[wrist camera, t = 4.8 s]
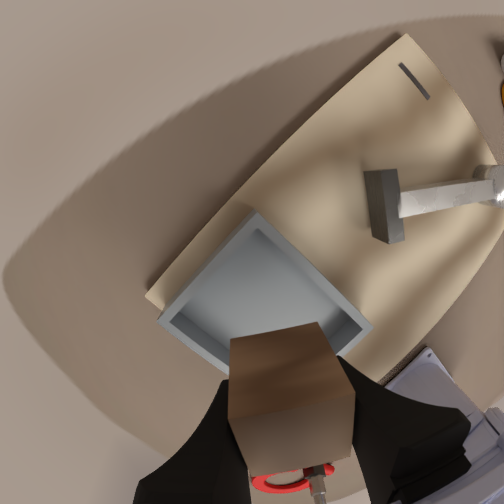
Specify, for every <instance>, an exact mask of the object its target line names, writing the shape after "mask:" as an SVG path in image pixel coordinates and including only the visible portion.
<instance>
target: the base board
mask: <svg viewBox="0 0 504 504" xmlns="http://www.w3.org/2000/svg"><path fill="white" fill-rule="evenodd" d="M480 164H487V165H497V163H496V161H495V159H494V157H493V155H492V153H491V151H490V149H489V147H488V145H487V143H486V141H485V139H484V137H483V136H482V134H481V132H480V130H479V129H478V127H477V125H476V123H475V122H474V120H473V118H472V117H471V115H470V114H469V112H468V110H467V109H466V107H465V106H464V104H463V103H462V101H461V100H460V98H459V97H458V95H457V94H456V92H455V91H454V90H453V88H452V87H451V85H450V84H449V83H448V81H447V80H446V79H445V77H444V76H443V75H442V73H441V72H440V71H439V70H438V68H437V67H436V66H435V65H434V63H433V62H432V61H431V60H430V59H429V57H428V56H427V55H426V54H425V53H424V52H423V50H422V49H421V48H420V47H419V46H418V45H417V44H416V43H415V42H414V40H413V39H412V38H411V37H410V36H409V35H408V34H407V33H406V34H404V35H403V36H402V37H401V38H399V39H398V40H397V41H396V42H394V43H393V44H392V45H391V46H390V47H388V48H387V49H386V50H385V51H384V52H382V53H381V54H380V55H379V56H378V57H376V58H375V59H374V60H373V61H372V62H371V63H369V64H368V65H367V66H366V67H365V68H364V69H363V70H361V71H360V72H359V73H358V74H357V75H356V76H355V77H354V78H352V79H351V80H350V81H349V82H348V83H347V84H346V85H345V86H343V87H342V88H341V89H340V90H339V91H338V92H337V93H336V94H335V95H334V96H333V97H331V98H330V99H329V100H328V101H327V102H326V103H325V104H324V105H323V106H322V107H321V108H320V109H319V110H317V111H316V112H315V113H314V114H313V115H312V116H311V117H310V118H309V119H308V120H307V121H306V122H305V123H304V124H303V125H302V126H301V127H300V128H299V129H298V130H297V131H296V132H295V133H294V134H292V135H291V136H290V137H289V138H288V139H287V140H286V141H285V142H284V143H283V144H282V145H281V146H280V147H279V148H278V149H277V150H276V151H275V152H274V153H273V154H272V155H271V156H270V157H269V158H268V159H267V160H266V161H265V162H264V163H263V164H262V166H261V167H260V168H259V169H258V170H257V171H256V172H255V173H254V174H253V175H252V176H251V177H250V178H249V179H248V180H247V181H246V182H245V183H244V184H243V185H242V186H241V187H240V188H239V189H238V190H237V192H236V193H235V194H234V195H233V196H232V197H231V198H230V199H229V200H228V201H227V202H226V203H225V204H224V205H223V207H222V208H221V209H220V210H219V211H218V212H217V213H216V214H215V215H214V216H213V217H212V219H211V220H210V221H209V222H208V223H207V224H206V225H205V226H204V227H203V228H202V230H201V231H200V232H199V233H198V234H197V235H196V236H195V237H194V239H193V240H192V241H191V242H190V243H189V244H188V245H187V246H186V248H185V249H184V250H183V251H182V252H181V253H180V255H179V256H178V257H177V258H176V259H175V260H174V261H173V263H172V264H171V265H170V266H169V267H168V268H167V270H166V271H165V272H164V273H163V274H162V275H161V277H160V278H159V279H158V280H157V281H156V283H155V284H154V285H153V286H152V287H151V289H150V290H149V291H148V292H147V294H146V295H145V297H146V298H147V299H149V300H150V301H151V302H152V303H153V304H154V305H156V306H157V307H158V308H159V309H160V310H163V308H164V306H165V305H166V304H167V302H168V301H169V300H170V299H171V298H172V297H173V296H174V295H175V293H176V292H177V291H178V290H179V289H180V288H181V287H182V286H183V285H184V283H185V282H186V281H187V280H188V279H189V278H190V277H191V276H192V275H193V274H194V272H195V271H196V270H197V269H198V268H199V267H200V266H201V265H202V264H203V263H204V261H205V260H206V259H207V258H208V257H209V256H210V255H211V254H212V253H213V252H214V251H215V249H216V248H217V247H218V246H219V245H220V244H221V243H222V242H223V241H224V240H225V239H226V238H227V237H228V235H229V234H230V233H231V232H232V231H233V230H234V229H235V228H236V227H237V226H238V225H239V224H240V223H241V222H242V221H243V220H244V218H245V217H246V216H247V215H248V214H249V213H250V212H251V211H252V210H253V209H254V208H255V209H256V210H257V211H258V212H259V213H260V214H261V215H262V216H263V217H264V218H265V219H266V220H267V221H268V222H269V223H271V224H272V225H273V226H274V227H275V228H276V229H277V230H278V231H279V232H280V233H281V234H282V235H283V236H284V237H285V238H286V239H287V240H288V241H289V242H290V243H291V244H292V245H293V246H295V247H296V248H297V249H298V250H299V251H300V252H301V253H302V254H303V255H304V256H305V257H306V258H307V259H308V260H309V261H310V262H311V263H312V264H313V265H314V266H315V267H316V268H317V269H318V270H319V271H320V272H321V273H322V274H323V275H324V276H325V277H326V278H327V279H328V280H329V281H330V282H331V283H332V284H333V285H334V286H335V287H336V288H337V289H338V290H339V291H340V292H341V293H342V294H343V295H344V296H345V297H346V298H347V299H348V300H349V301H350V302H351V303H352V304H353V305H354V306H355V307H356V308H357V309H358V310H359V311H360V312H361V313H362V315H363V316H364V317H365V318H366V319H367V320H368V321H369V322H370V323H371V325H372V326H373V327H374V328H373V329H372V330H371V331H370V332H369V333H368V334H367V335H366V336H365V337H364V338H363V339H362V340H361V341H360V342H359V343H358V344H357V345H356V346H355V347H353V348H352V349H351V350H350V351H349V352H348V353H347V354H346V355H345V356H344V357H342V358H343V359H345V360H346V361H347V362H348V363H349V364H351V365H352V366H353V367H354V368H356V369H357V370H358V371H360V372H361V373H363V374H364V375H365V376H367V377H368V378H370V379H371V380H373V381H374V382H376V383H377V382H378V381H379V380H380V379H381V378H383V377H384V376H385V375H386V374H387V373H388V372H389V371H390V370H391V369H392V368H393V367H395V366H396V365H397V364H398V363H399V362H400V361H401V360H402V359H403V358H404V357H405V356H406V355H407V354H408V353H409V352H410V351H411V350H412V349H413V348H414V347H415V346H416V345H417V344H418V343H419V342H420V341H421V340H422V338H423V337H424V336H425V335H426V334H427V333H428V332H429V331H430V330H431V329H432V328H433V326H434V325H435V324H436V323H437V322H438V321H439V320H440V318H441V317H442V316H443V315H444V314H445V313H446V311H447V310H448V309H449V308H450V307H451V305H452V304H453V303H454V302H455V300H456V299H457V298H458V297H459V295H460V294H461V293H462V291H463V290H464V289H465V287H466V286H467V285H468V283H469V282H470V281H471V279H472V278H473V277H474V275H475V274H476V272H477V271H478V269H479V268H480V267H481V265H482V264H483V262H484V261H485V259H486V258H487V256H488V255H489V253H490V251H491V250H492V248H493V247H494V245H495V243H496V242H497V240H498V239H499V237H500V235H501V233H502V232H503V230H504V209H501V208H496V207H491V206H486V205H481V204H479V203H478V202H476V203H471V204H466V205H461V206H456V207H451V208H446V209H442V210H437V211H432V212H427V213H422V214H417V215H413V216H408V217H403V223H404V236H405V241H401V242H397V243H393V244H387V243H385V242H382V241H380V240H378V239H376V238H373V237H372V233H371V223H370V215H369V207H368V200H367V193H366V186H365V180H364V174H363V171H370V170H377V169H397V172H398V179H399V186H400V188H403V187H409V186H416V185H423V184H430V183H437V182H445V181H452V180H460V179H468V178H472V176H473V172H474V170H475V168H476V167H477V166H478V165H480Z"/></svg>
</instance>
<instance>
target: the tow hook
mask: <svg viewBox="0 0 504 504" xmlns="http://www.w3.org/2000/svg"><path fill="white" fill-rule="evenodd" d="M298 470H299V469H298ZM294 471H297V470H293V471H288V472H294ZM333 472H334V467H333V466H331V465H328V464H321V465H317V466H312V467H308V468H303V473H304V478H305V479H304V480H302V481H300V482H298V483H295V484H291V485H279V486H278V485H272V484H269V483H267V482H266V481H265V480H266V479H267V478H268V477H270V476H272V475H275V474H270V475H263V476H255V477H252V484H253V486H254V487H255V488H256V489H258V490H260V491H263V492H267V493H290V492H295V491H300V490H302V489H305V488H308V487H310V493H311V496H312V497H314V502H315V504H326V500H325V494H326V489H325V484H324V481H323V478H324V477H325V476H326V475H331V474H332V473H333ZM282 473H283V472H282ZM276 474H278V473H276Z"/></svg>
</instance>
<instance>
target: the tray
mask: <svg viewBox="0 0 504 504" xmlns="http://www.w3.org/2000/svg"><path fill="white" fill-rule="evenodd" d="M156 322H157V323H158V324H159V325H161V326H162V327H163V328H164V329H166V330H167V331H168V332H169V333H171V334H172V335H173V336H175V337H176V338H177V339H179V340H180V341H181V342H182V343H184V344H185V345H186V346H188V347H189V348H190V349H192V350H193V351H194V352H196V353H197V354H199V355H200V356H201V357H203V358H204V359H205V360H207V361H208V362H210V363H211V364H213V365H214V366H215V367H217V368H218V369H220V370H221V371H223V372H224V373H226V374H227V375H229V358H230V339H231V338H237V337H242V336H248V335H254V334H259V333H264V332H270V331H275V330H280V329H285V328H289V327H294V326H299V325H303V324H308V323H312V322H318V324H319V325H320V327H321V329H322V331H323V333H324V335H325V336H326V338H327V340H328V342H329V344H330V346H331V348H332V349H333V351H334V353H335V355H336V356H337V355H339V356H341V357H344V356H345V355H346V354H347V353H348V352H349V351H350V350H351V349H352V348H353V347H355V346H356V345H357V344H358V343H359V342H360V341H361V340H362V339H363V338H364V337H365V336H366V335H367V334H368V333H369V332H370V331H371V330H372V329H373V328H374V327H373V326H372V325H371V323H370V322H369V321H368V320H367V319H366V318H365V317H364V316H363V315H362V313H361V312H360V311H359V310H358V309H357V308H356V307H355V306H354V305H353V304H352V303H351V302H350V301H349V300H348V299H347V298H346V297H345V296H344V295H343V294H342V293H341V292H340V291H339V290H338V289H337V288H336V287H335V286H334V285H333V284H332V283H331V282H330V281H329V280H328V279H327V278H326V277H325V276H324V275H323V274H322V273H321V272H320V271H319V270H318V269H317V268H316V267H315V266H314V265H313V264H312V263H311V262H310V261H309V260H308V259H307V258H306V257H305V256H304V255H303V254H302V253H301V252H300V251H299V250H298V249H297V248H296V247H295V246H293V245H292V244H291V243H290V242H289V241H288V240H287V239H286V238H285V237H284V236H283V235H282V234H281V233H280V232H279V231H278V230H277V229H276V228H275V227H274V226H273V225H272V224H271V223H269V222H268V221H267V220H266V219H265V218H264V217H263V216H262V215H261V214H260V213H259V212H258V211H257V210H256V209H255V208H254V209H253V210H252V211H251V212H250V213H249V214H248V215H247V216H246V217H245V218H244V220H243V221H242V222H241V223H240V224H239V225H238V226H237V227H236V228H235V229H234V230H233V231H232V232H231V233H230V234H229V235H228V237H227V238H226V239H225V240H224V241H223V242H222V243H221V244H220V245H219V246H218V247H217V248H216V249H215V251H214V252H213V253H212V254H211V255H210V256H209V257H208V258H207V259H206V260H205V261H204V263H203V264H202V265H201V266H200V267H199V268H198V269H197V270H196V271H195V272H194V274H193V275H192V276H191V277H190V278H189V279H188V280H187V281H186V282H185V283H184V285H183V286H182V287H181V288H180V289H179V290H178V291H177V292H176V293H175V295H174V296H173V297H172V298H171V299H170V300H169V301H168V302H167V304H166V305H165V306H164V308H163V310H162V312H161V314H160V315H159V317H158V319H157V321H156Z"/></svg>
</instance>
